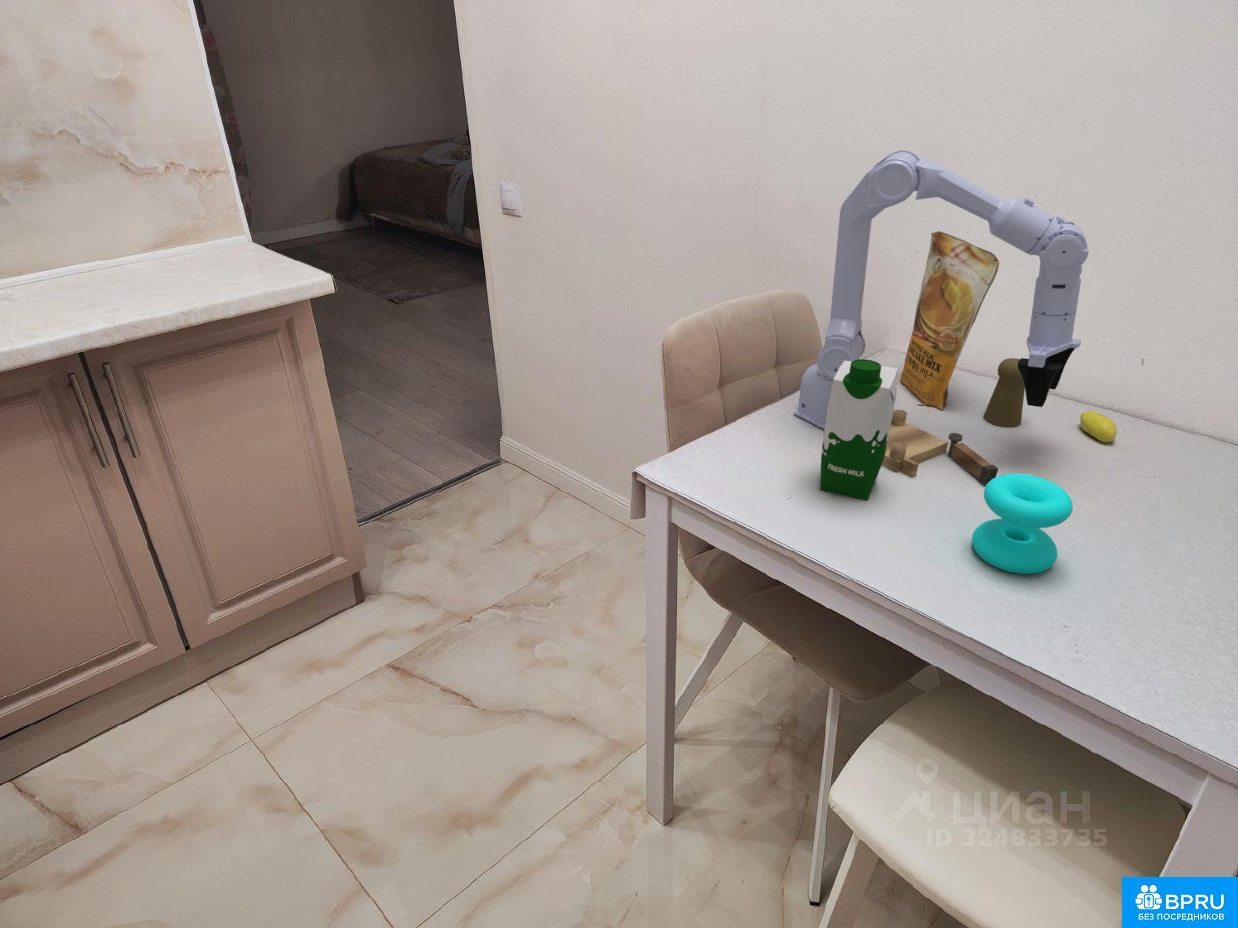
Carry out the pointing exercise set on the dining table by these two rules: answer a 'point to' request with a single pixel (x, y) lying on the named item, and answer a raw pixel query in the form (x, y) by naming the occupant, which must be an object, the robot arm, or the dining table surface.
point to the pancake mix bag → (945, 314)
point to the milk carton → (857, 427)
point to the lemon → (1098, 426)
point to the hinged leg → (974, 462)
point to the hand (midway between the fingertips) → (1042, 396)
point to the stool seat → (912, 445)
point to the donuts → (1021, 523)
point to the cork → (1007, 396)
